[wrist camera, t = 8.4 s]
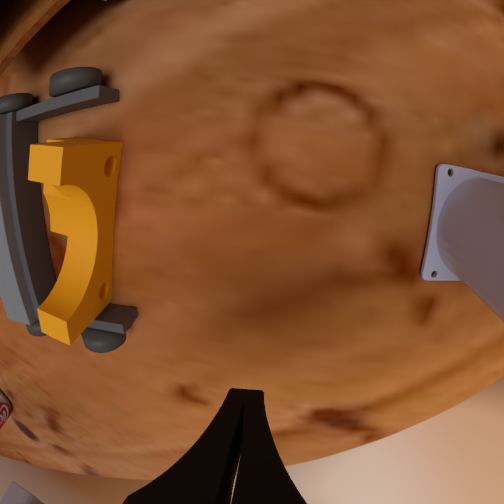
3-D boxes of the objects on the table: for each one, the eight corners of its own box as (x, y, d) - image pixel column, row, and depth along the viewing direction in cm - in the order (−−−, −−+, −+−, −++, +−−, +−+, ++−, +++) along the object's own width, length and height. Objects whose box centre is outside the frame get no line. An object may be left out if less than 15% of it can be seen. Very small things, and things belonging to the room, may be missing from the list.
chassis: (120, 70, 16) (86, 59, 12) (140, 330, 22) (120, 361, 19) (3, 109, 17) (-30, 111, 13) (31, 309, 23) (7, 329, 20)
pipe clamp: (75, 137, 18) (12, 143, 12) (124, 142, 18) (63, 147, 12) (71, 284, 22) (24, 323, 16) (113, 298, 22) (70, 345, 16)
